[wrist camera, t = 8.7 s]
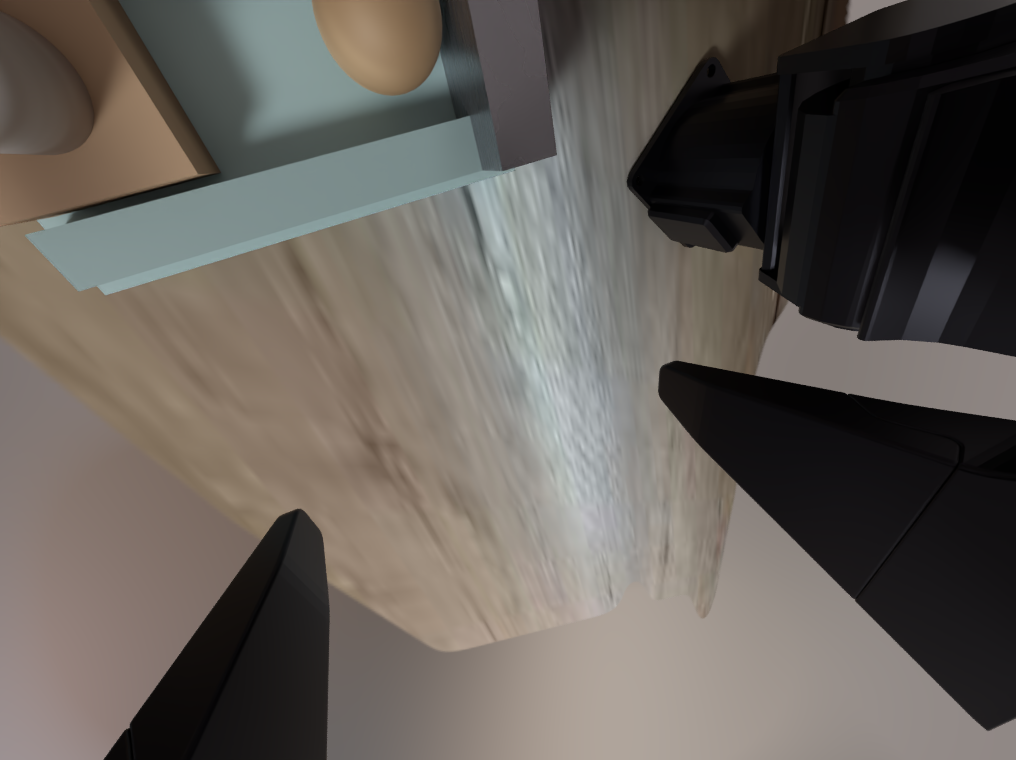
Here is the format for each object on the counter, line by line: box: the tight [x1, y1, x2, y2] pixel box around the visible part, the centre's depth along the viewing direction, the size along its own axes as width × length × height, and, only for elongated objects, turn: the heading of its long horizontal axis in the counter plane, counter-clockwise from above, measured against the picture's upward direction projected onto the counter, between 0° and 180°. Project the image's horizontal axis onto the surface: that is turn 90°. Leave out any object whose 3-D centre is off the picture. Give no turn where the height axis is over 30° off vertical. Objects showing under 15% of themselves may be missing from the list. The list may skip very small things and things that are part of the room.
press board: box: [25, 0, 515, 295], centre depth 11 cm, size 16×10×3 cm, turn 101°
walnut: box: [312, 0, 442, 96], centre depth 11 cm, size 4×4×4 cm
